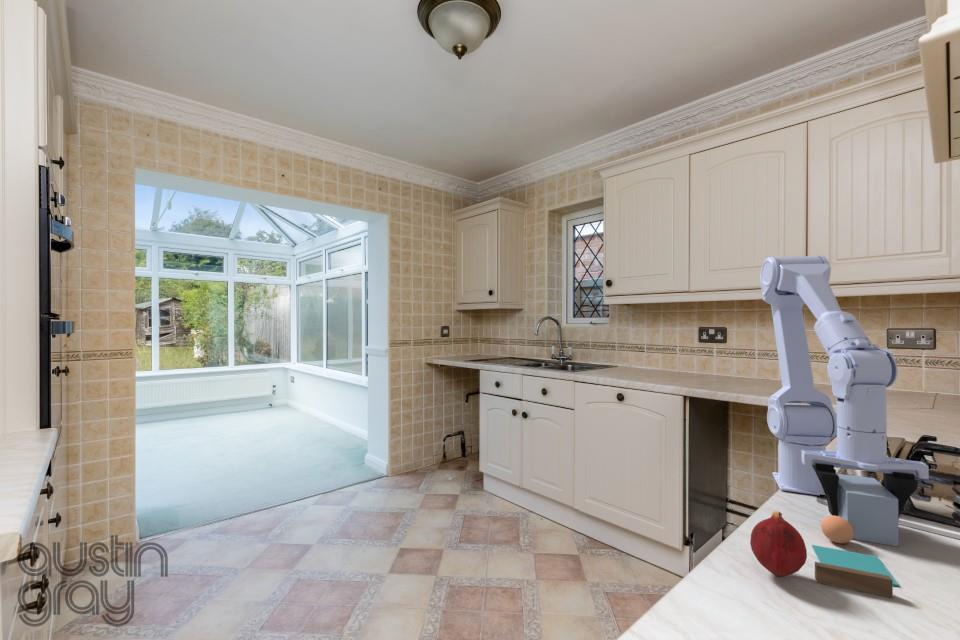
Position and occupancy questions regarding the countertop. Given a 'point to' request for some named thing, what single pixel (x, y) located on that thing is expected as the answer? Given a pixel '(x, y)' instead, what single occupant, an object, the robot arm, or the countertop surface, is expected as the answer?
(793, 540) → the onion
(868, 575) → the brown cuboid
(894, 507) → the matte gray cuboid
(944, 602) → the countertop surface
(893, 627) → the countertop surface
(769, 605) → the countertop surface
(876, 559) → the mark
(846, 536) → the egg
